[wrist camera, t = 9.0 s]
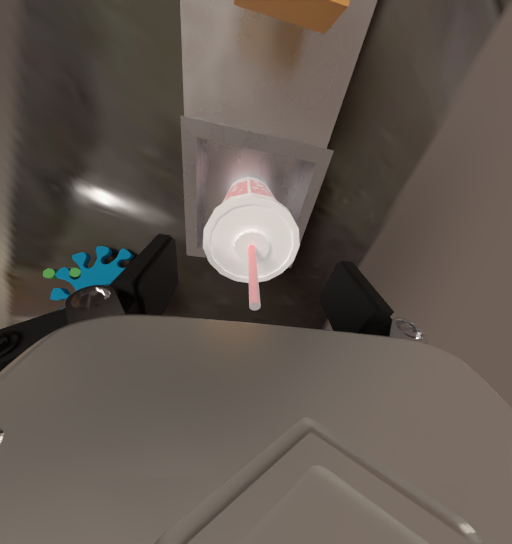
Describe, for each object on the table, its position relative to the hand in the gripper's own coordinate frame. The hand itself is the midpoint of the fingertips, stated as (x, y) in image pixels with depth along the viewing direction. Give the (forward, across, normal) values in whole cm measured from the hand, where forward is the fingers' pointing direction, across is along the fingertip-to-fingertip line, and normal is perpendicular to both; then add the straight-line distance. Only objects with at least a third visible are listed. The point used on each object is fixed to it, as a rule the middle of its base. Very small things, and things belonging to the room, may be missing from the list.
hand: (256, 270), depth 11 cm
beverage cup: (+11, 0, -1) cm, 11 cm away
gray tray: (+12, +1, -7) cm, 14 cm away
